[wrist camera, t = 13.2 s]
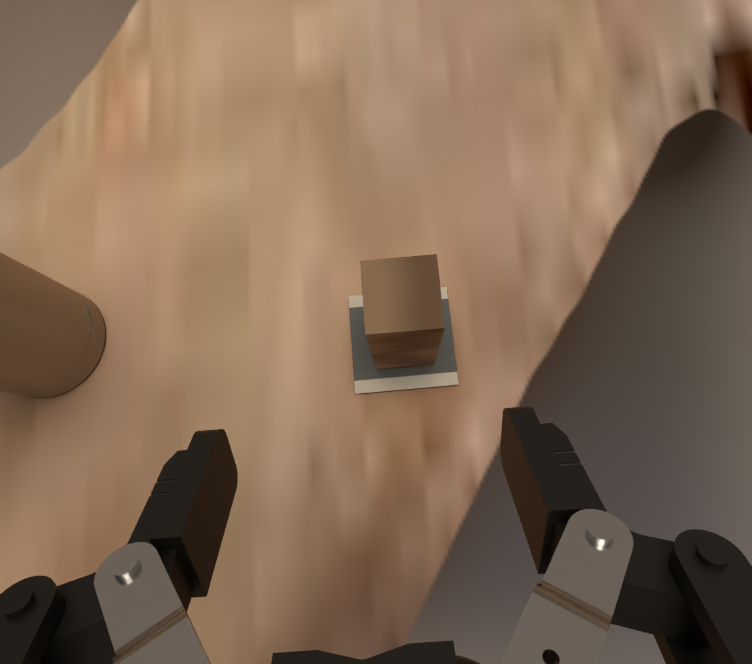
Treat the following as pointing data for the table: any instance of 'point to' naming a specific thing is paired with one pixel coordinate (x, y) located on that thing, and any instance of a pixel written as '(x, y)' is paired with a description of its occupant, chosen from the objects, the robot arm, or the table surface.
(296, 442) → the table surface
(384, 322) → the block
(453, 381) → the mat
